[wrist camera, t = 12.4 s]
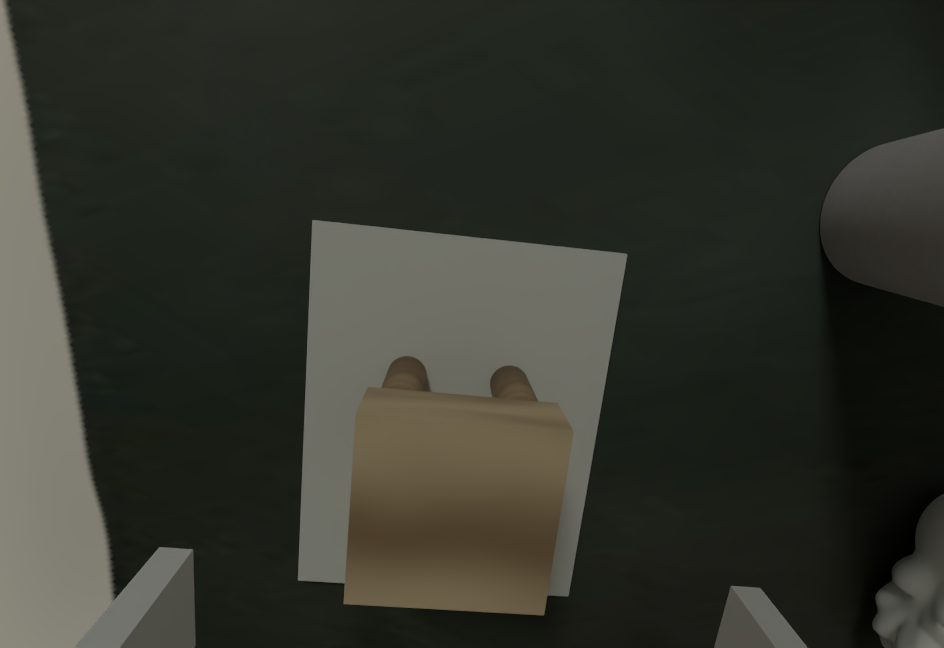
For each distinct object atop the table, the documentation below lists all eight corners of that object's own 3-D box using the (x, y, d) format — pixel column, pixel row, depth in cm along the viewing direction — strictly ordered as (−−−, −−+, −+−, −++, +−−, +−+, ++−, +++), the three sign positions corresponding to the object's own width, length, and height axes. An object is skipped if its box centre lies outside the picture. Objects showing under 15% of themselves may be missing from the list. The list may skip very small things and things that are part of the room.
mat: (314, 220, 22) (312, 220, 22) (624, 253, 23) (627, 254, 23) (300, 574, 26) (297, 580, 25) (566, 591, 27) (568, 596, 26)
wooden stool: (384, 349, 23) (355, 413, 16) (534, 363, 24) (573, 431, 16) (374, 487, 25) (343, 604, 17) (516, 497, 25) (544, 615, 18)
